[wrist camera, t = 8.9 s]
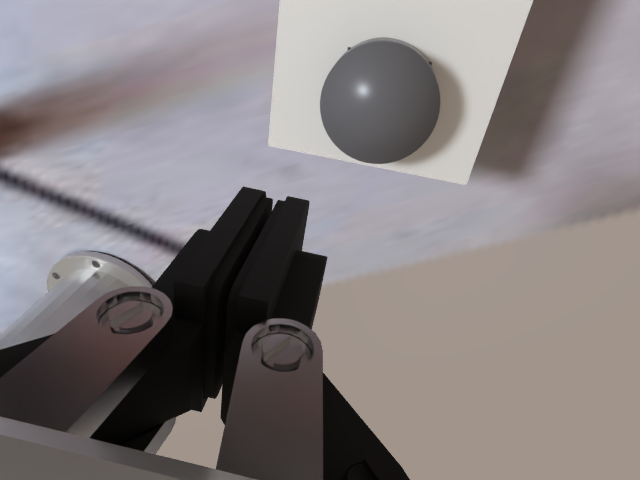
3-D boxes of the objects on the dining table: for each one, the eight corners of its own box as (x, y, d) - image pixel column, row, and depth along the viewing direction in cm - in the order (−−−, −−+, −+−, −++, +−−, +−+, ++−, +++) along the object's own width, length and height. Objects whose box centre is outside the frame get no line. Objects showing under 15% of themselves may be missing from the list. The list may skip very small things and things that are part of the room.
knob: (417, 130, 30) (421, 173, 23) (331, 113, 30) (312, 152, 23) (443, 35, 26) (456, 55, 20) (346, 17, 27) (329, 32, 20)
